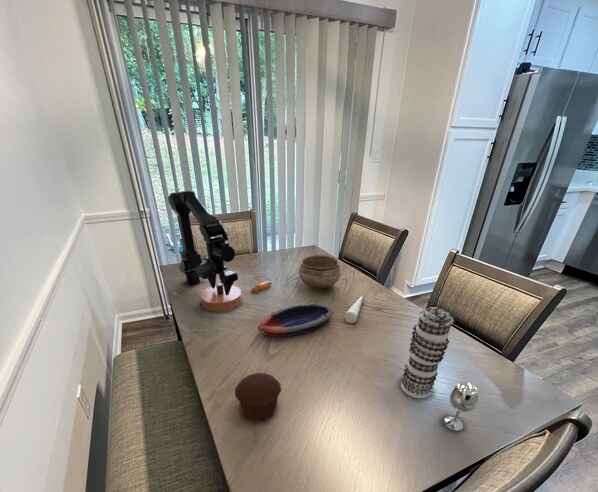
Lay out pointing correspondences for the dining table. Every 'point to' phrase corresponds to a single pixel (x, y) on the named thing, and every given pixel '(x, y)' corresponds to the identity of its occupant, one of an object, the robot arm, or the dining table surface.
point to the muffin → (258, 395)
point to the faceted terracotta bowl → (221, 305)
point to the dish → (295, 320)
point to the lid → (219, 294)
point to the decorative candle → (426, 351)
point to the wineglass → (461, 403)
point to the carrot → (261, 286)
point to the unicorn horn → (353, 311)
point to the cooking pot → (319, 270)
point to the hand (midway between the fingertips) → (220, 291)
